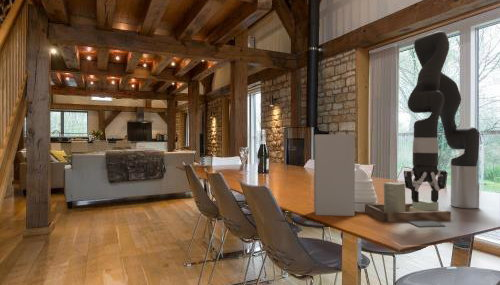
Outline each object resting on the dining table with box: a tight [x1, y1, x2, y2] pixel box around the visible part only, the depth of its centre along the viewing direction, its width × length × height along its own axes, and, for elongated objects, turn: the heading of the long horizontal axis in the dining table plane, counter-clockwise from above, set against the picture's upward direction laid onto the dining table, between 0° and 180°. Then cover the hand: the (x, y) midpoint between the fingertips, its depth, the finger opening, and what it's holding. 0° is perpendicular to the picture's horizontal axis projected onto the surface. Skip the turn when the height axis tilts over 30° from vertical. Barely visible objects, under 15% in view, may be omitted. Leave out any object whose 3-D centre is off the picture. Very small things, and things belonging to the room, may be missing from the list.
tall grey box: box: [313, 134, 356, 217], centre depth 123 cm, size 14×6×30 cm, turn 84°
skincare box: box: [383, 181, 406, 212], centre depth 120 cm, size 6×4×12 cm
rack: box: [364, 203, 452, 223], centre depth 120 cm, size 24×15×3 cm, turn 95°
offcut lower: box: [409, 207, 441, 212], centre depth 120 cm, size 7×9×3 cm
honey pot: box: [355, 163, 378, 213], centre depth 133 cm, size 13×13×18 cm
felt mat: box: [405, 220, 446, 228], centre depth 108 cm, size 9×7×1 cm
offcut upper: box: [411, 198, 439, 211], centre depth 121 cm, size 5×7×3 cm
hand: (424, 201), depth 108 cm, fingers open, 6 cm apart
